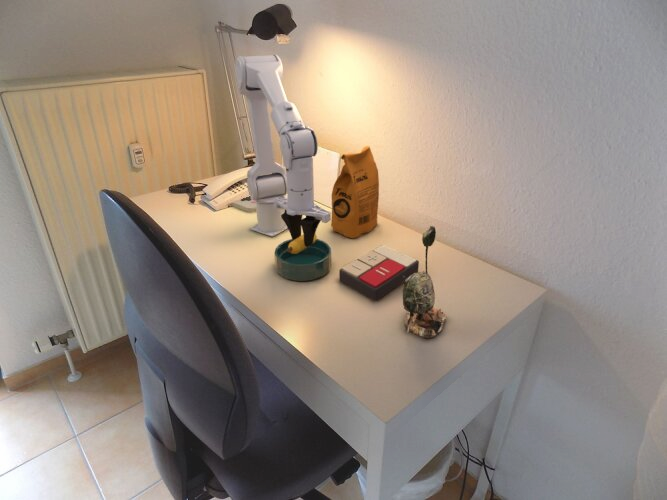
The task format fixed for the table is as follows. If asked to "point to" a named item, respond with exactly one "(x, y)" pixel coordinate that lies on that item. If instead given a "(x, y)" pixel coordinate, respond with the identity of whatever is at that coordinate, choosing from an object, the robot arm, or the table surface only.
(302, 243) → the amber tube
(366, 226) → the coffee package
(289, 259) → the teal bowl
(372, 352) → the table surface
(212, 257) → the table surface
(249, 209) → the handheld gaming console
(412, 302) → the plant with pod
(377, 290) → the calculator
